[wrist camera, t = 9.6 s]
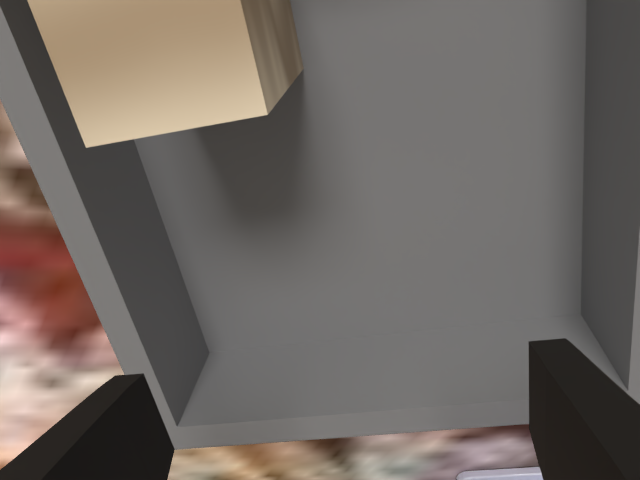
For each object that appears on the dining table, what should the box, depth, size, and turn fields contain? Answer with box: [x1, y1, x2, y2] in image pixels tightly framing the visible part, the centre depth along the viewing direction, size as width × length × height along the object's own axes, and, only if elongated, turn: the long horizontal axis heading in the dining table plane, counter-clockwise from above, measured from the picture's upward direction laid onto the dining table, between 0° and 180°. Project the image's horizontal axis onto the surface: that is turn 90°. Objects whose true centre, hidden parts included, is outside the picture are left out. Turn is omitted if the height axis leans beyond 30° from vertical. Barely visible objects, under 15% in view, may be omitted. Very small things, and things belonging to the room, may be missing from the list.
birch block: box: [27, 0, 304, 148], centre depth 13 cm, size 4×4×6 cm
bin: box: [0, 0, 640, 450], centre depth 15 cm, size 18×16×4 cm
